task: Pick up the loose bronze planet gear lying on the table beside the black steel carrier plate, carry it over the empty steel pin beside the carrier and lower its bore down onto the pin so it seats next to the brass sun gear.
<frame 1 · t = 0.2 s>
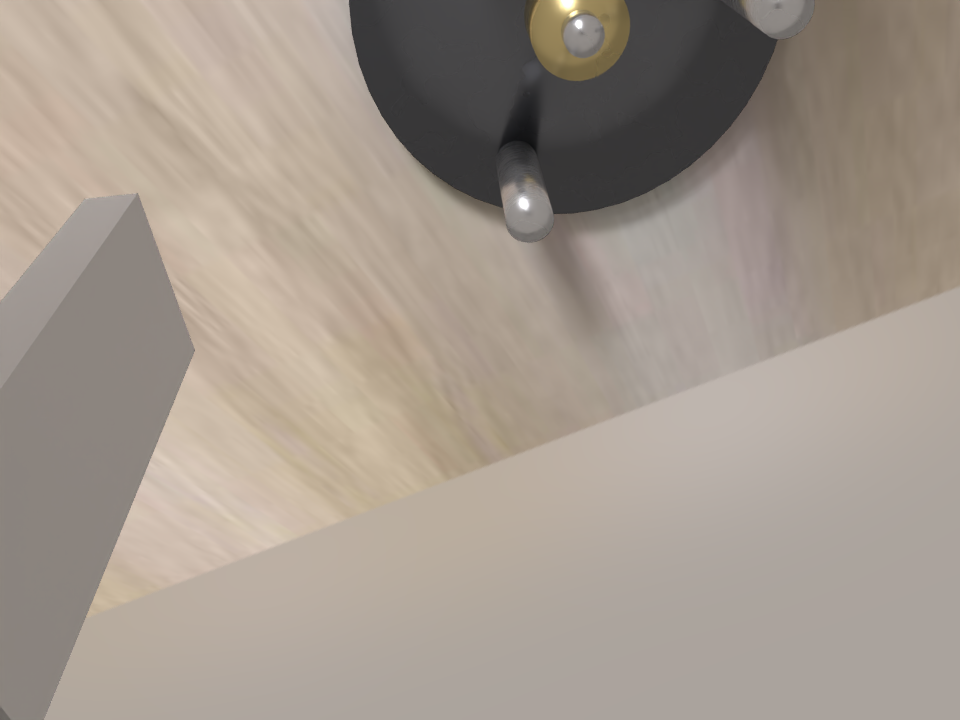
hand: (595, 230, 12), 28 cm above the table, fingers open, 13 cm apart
carrier: (565, 5, 36), on the table
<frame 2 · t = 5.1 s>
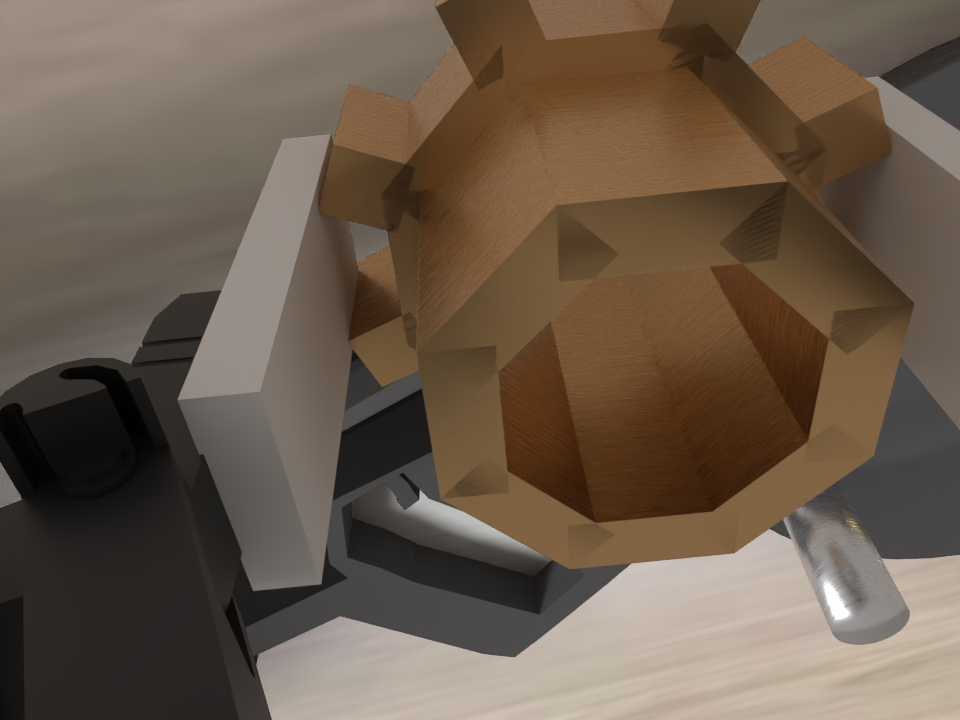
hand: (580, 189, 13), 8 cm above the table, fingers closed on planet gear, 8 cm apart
planet gear: (577, 182, 14), point 8 cm above the table, touching gripper
pistol: (326, 546, 32), on the table
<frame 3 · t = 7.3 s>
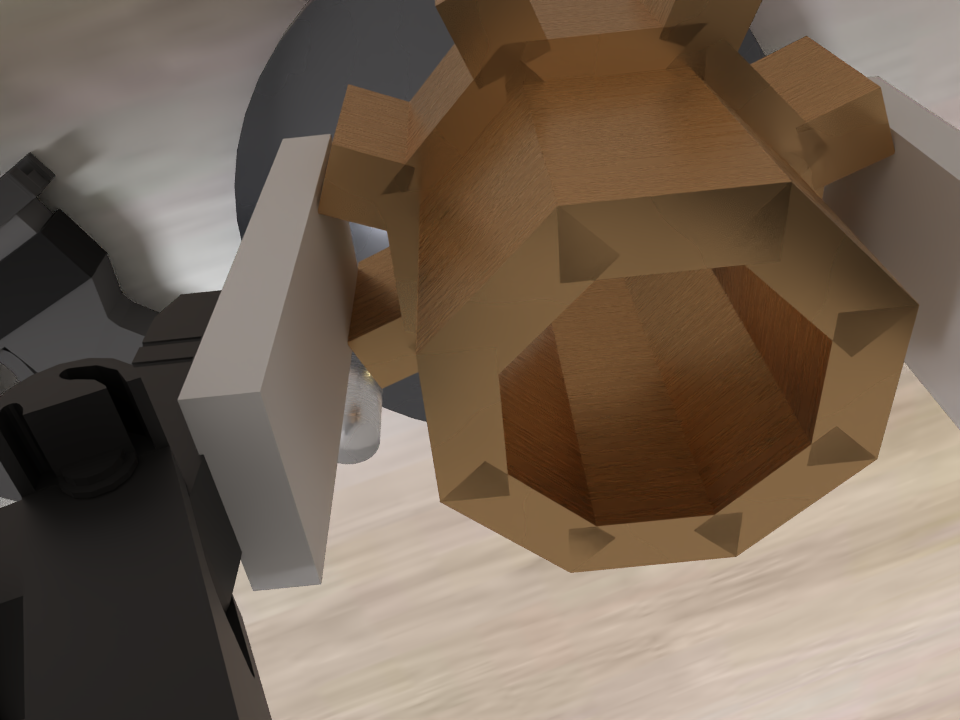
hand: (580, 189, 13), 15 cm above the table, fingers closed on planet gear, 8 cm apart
planet gear: (578, 182, 13), point 14 cm above the table, touching gripper
carrier: (511, 204, 29), on the table
when the fingers open (2 cm above the table, at t = 9.8 s): planet gear stays where it is, resting on carrier.
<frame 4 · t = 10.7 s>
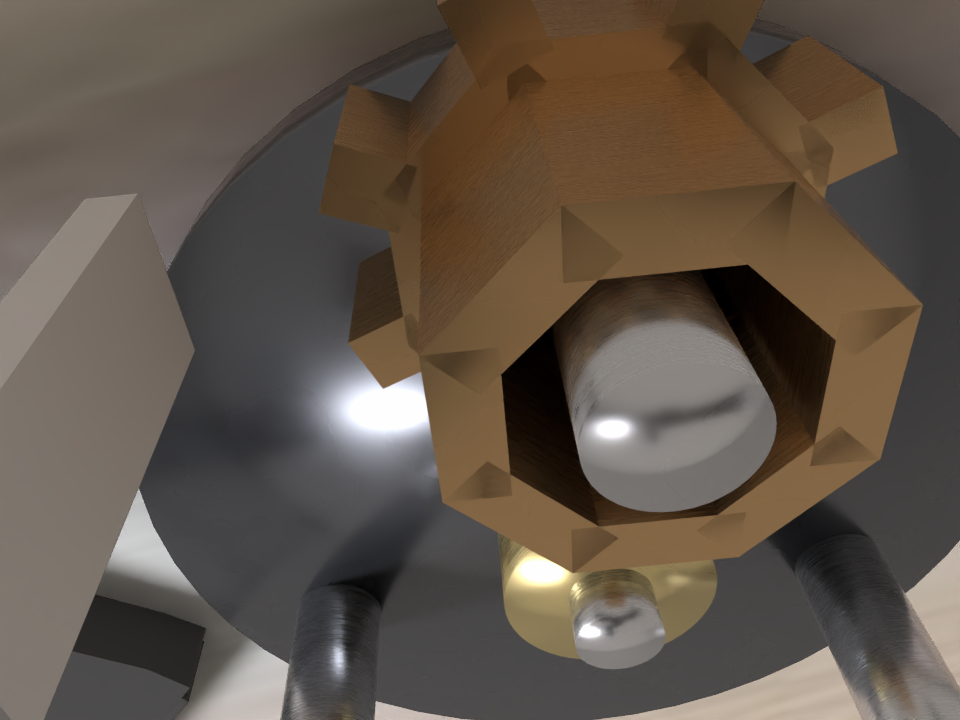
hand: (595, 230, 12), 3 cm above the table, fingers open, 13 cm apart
planet gear: (580, 182, 13), point 1 cm above the table, touching carrier
carrier: (575, 437, 19), on the table
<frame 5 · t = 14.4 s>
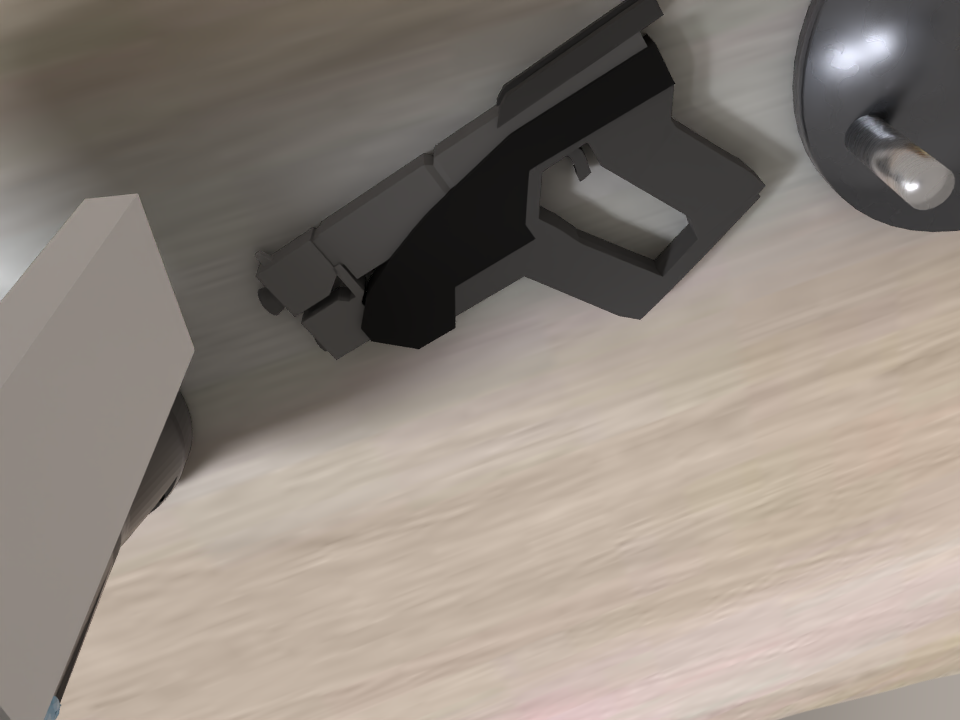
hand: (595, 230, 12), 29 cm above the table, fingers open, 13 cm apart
pistol: (508, 236, 45), on the table
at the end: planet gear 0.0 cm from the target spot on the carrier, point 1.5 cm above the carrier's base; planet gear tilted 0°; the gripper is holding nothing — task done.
